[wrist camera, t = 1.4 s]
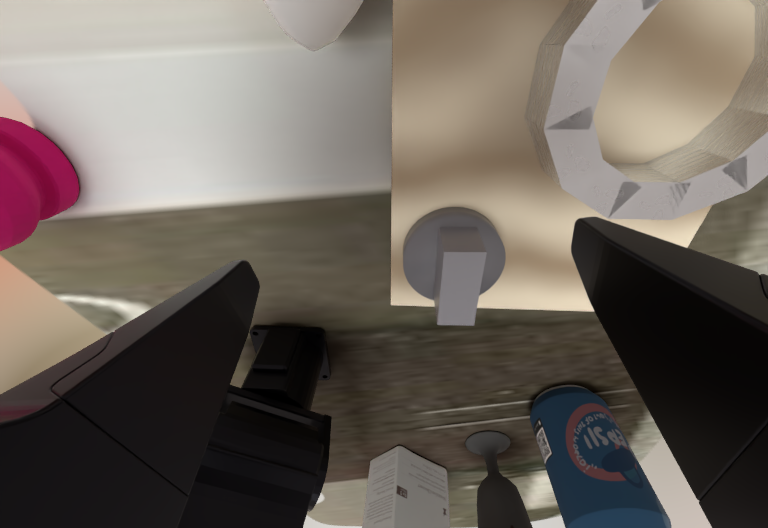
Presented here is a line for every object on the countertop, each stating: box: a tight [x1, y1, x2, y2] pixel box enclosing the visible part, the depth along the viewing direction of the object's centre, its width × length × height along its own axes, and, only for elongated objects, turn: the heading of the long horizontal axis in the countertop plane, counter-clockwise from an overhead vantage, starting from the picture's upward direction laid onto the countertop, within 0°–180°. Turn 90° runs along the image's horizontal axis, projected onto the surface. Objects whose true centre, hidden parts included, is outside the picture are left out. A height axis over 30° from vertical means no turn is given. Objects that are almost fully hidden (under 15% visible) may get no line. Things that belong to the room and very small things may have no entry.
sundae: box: [465, 431, 532, 528], centre depth 31 cm, size 7×7×15 cm
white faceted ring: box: [524, 0, 768, 220], centre depth 15 cm, size 12×12×3 cm
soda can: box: [530, 385, 671, 528], centre depth 28 cm, size 7×7×12 cm
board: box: [391, 0, 755, 312], centre depth 20 cm, size 20×19×1 cm
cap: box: [403, 207, 506, 326], centre depth 21 cm, size 6×6×4 cm
